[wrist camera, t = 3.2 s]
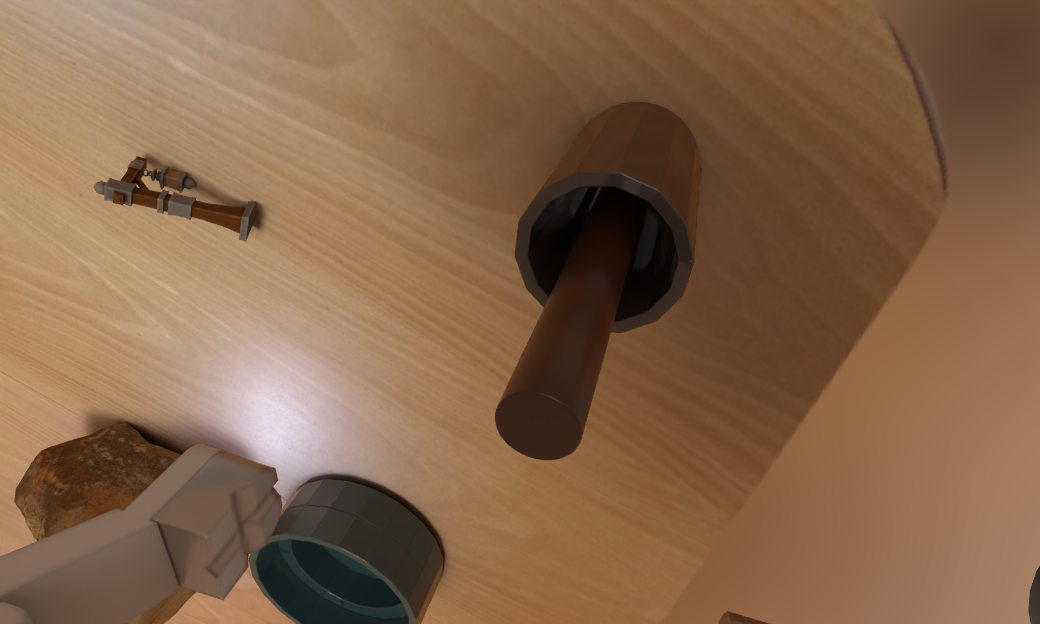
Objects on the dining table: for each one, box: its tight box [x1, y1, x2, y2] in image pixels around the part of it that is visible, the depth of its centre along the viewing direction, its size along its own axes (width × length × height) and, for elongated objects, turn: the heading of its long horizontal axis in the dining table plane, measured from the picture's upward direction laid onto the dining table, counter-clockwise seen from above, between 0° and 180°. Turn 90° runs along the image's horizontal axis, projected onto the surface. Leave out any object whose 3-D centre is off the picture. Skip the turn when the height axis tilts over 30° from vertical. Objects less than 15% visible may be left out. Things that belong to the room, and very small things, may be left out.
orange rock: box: [14, 423, 196, 624], centre depth 49 cm, size 23×17×15 cm
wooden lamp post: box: [94, 156, 256, 242], centre depth 35 cm, size 2×8×4 cm, turn 67°
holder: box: [515, 102, 701, 333], centre depth 24 cm, size 6×6×10 cm
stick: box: [495, 187, 647, 460], centre depth 20 cm, size 2×2×18 cm
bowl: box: [249, 479, 443, 624], centre depth 48 cm, size 14×14×6 cm
